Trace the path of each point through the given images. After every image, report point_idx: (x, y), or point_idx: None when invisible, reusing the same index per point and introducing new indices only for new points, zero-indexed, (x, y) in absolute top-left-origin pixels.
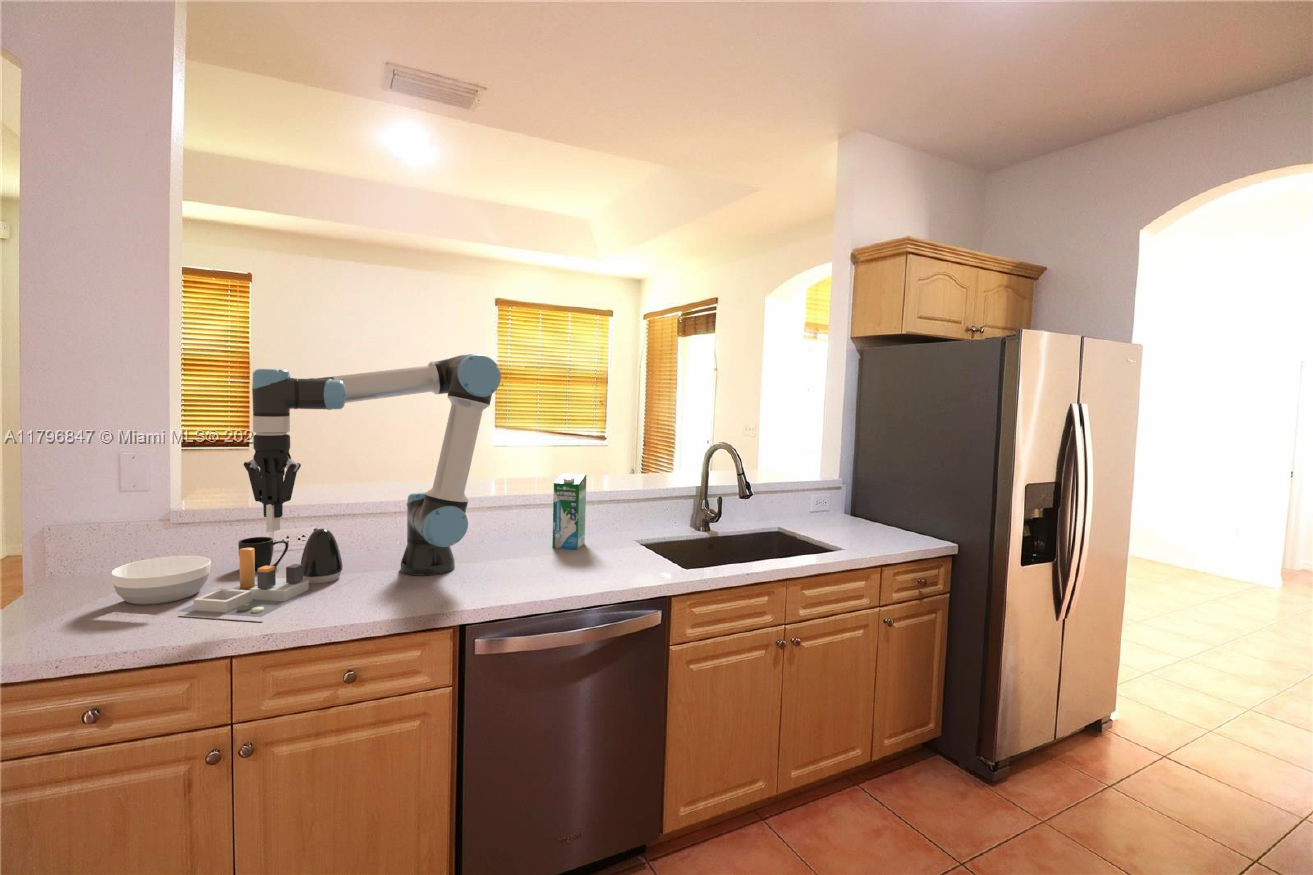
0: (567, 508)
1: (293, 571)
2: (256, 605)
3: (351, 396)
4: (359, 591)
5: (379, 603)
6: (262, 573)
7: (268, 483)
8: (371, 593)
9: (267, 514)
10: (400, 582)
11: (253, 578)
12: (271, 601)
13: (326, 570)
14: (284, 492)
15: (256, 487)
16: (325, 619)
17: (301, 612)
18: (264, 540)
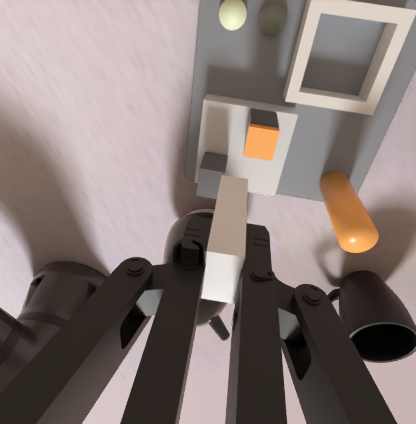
0: None
1: (205, 164)
2: (257, 59)
3: None
4: (117, 189)
5: (37, 121)
6: (263, 122)
7: (232, 415)
8: (89, 178)
9: (239, 221)
10: (78, 233)
11: (323, 192)
12: (236, 91)
13: (178, 224)
14: (92, 309)
15: (332, 380)
16: (76, 10)
17: (155, 58)
18: (369, 353)
